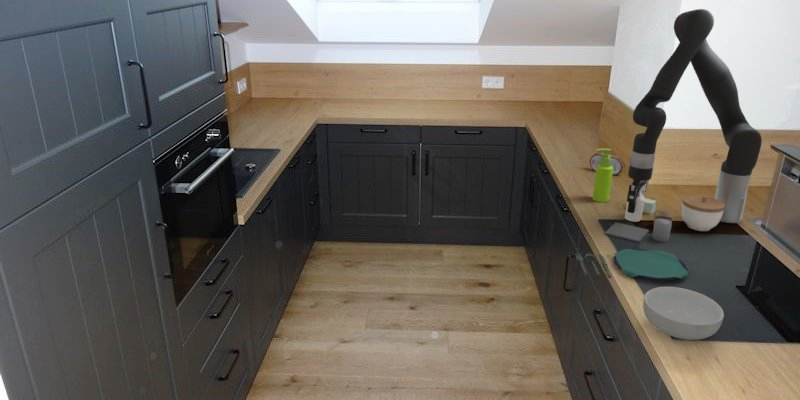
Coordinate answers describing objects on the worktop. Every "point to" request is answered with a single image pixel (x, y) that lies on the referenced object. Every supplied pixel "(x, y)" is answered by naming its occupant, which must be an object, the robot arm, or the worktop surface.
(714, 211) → the lidded bowl
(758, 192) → the worktop surface
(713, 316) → the cereal bowl
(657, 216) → the walnut cube
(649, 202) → the sage bar
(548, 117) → the worktop surface
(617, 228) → the mat
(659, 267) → the teal place setting
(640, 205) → the white tall lump
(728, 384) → the worktop surface
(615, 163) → the tin
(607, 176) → the soap dispenser
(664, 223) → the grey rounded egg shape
